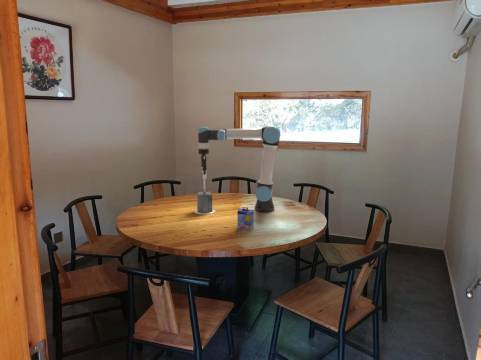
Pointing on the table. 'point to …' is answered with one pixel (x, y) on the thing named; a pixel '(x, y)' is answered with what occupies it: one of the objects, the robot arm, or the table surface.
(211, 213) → the trivet
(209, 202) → the grey piece
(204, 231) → the table surface
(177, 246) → the table surface
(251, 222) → the ink cartridge box
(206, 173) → the plunger
